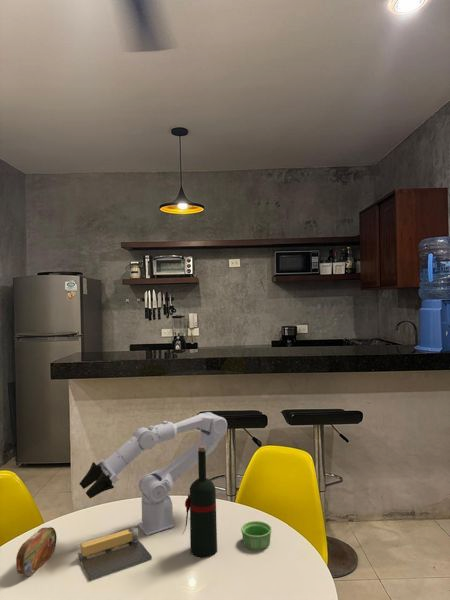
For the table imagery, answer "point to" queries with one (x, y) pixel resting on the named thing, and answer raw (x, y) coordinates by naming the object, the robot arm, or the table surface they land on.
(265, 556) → the table surface
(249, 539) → the ramekin
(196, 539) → the wine bottle
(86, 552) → the tan wooden beam
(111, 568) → the panel
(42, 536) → the tin
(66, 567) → the table surface
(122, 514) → the table surface
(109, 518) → the table surface
